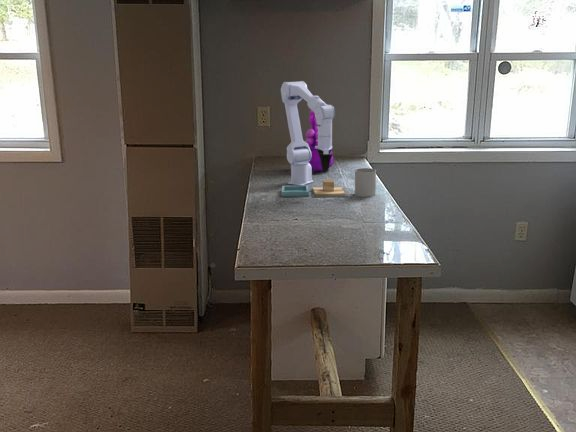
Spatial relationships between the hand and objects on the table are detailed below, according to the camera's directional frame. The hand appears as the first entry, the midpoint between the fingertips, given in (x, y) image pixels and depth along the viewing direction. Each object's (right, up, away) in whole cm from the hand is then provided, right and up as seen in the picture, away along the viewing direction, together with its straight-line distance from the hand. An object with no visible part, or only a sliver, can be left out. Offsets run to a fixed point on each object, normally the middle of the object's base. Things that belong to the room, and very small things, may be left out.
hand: (324, 168), depth 252 cm
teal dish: (-12, -10, +2) cm, 16 cm away
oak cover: (+2, -10, +2) cm, 10 cm away
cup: (+16, -11, -1) cm, 20 cm away
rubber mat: (+2, -10, +2) cm, 10 cm away
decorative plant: (-2, +3, +46) cm, 46 cm away
